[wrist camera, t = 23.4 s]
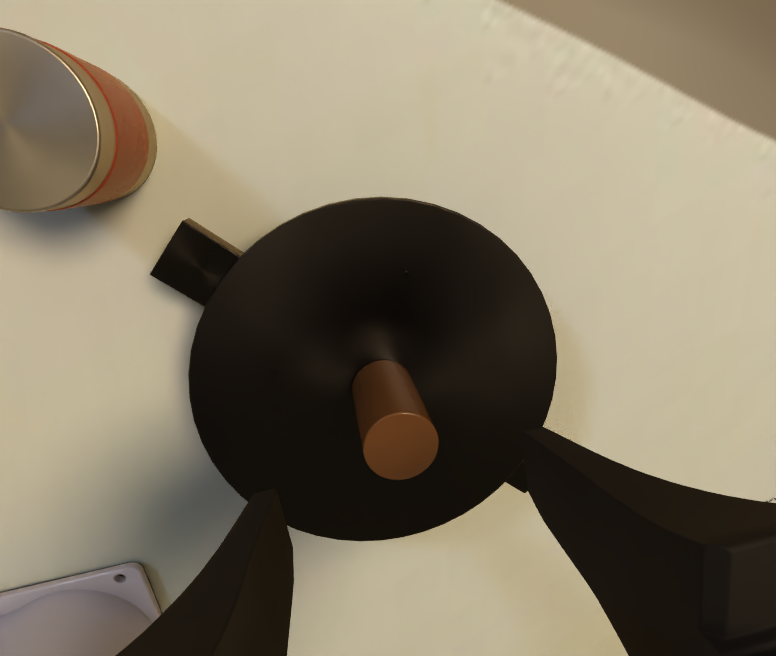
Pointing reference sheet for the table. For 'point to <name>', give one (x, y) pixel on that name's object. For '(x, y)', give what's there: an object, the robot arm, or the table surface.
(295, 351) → the pan lid
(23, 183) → the can
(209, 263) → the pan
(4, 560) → the table surface
